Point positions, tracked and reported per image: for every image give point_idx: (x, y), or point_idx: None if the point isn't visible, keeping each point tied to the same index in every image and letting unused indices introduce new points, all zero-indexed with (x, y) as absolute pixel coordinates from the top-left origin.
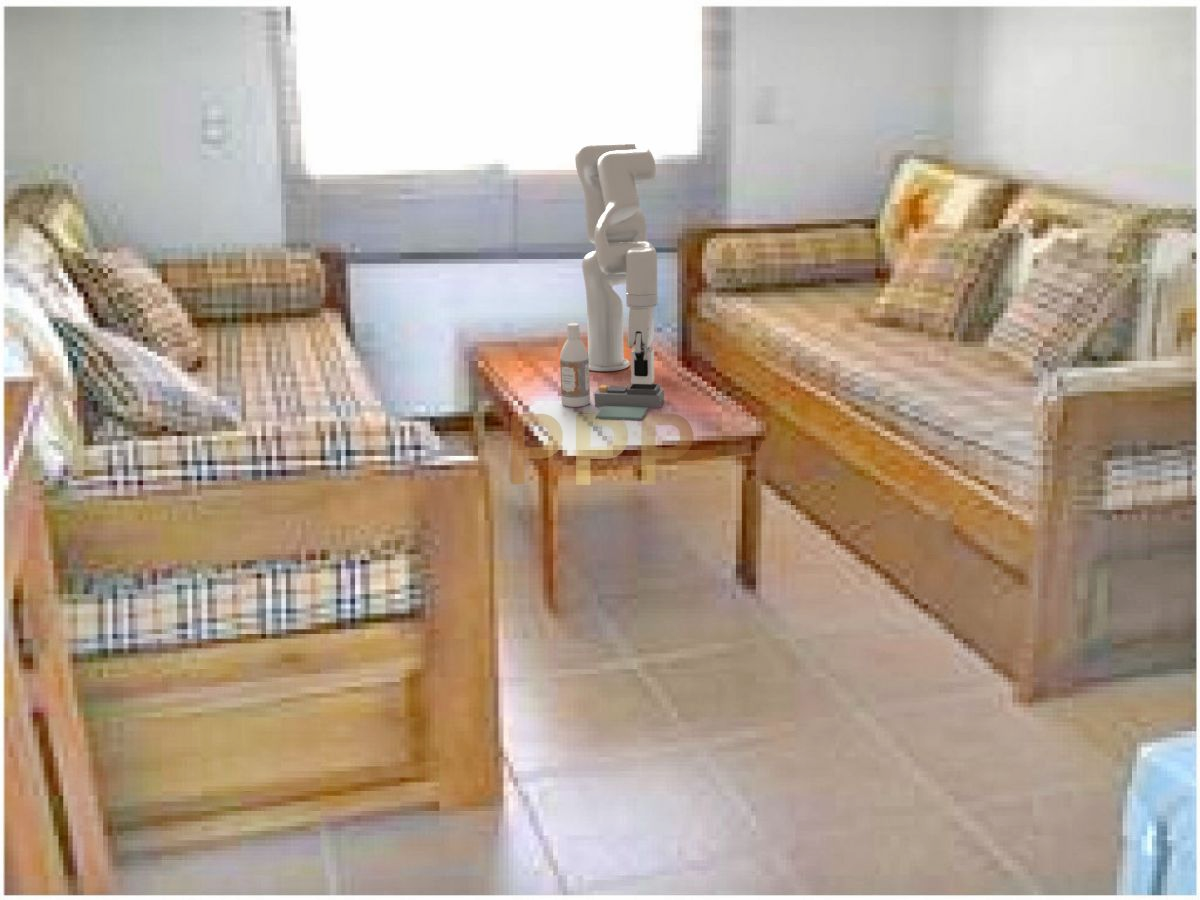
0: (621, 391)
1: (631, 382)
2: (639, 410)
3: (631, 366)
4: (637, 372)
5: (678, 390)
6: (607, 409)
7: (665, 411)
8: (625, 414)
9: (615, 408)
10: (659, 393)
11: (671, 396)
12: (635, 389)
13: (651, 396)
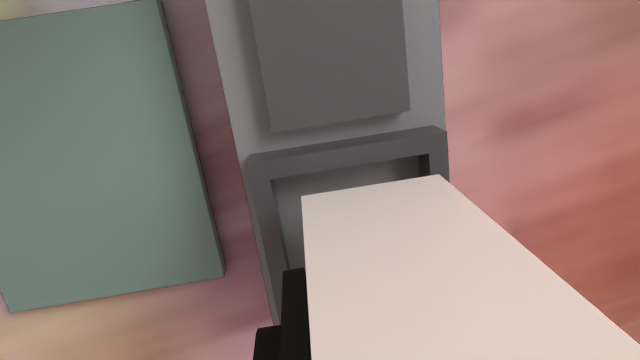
0: (268, 107)
1: (301, 200)
2: (142, 257)
3: (306, 280)
4: (258, 329)
5: (619, 289)
6: (82, 61)
7: (226, 354)
8: (27, 211)
9: (125, 106)
10: None
11: None
12: (269, 225)
13: (272, 309)
